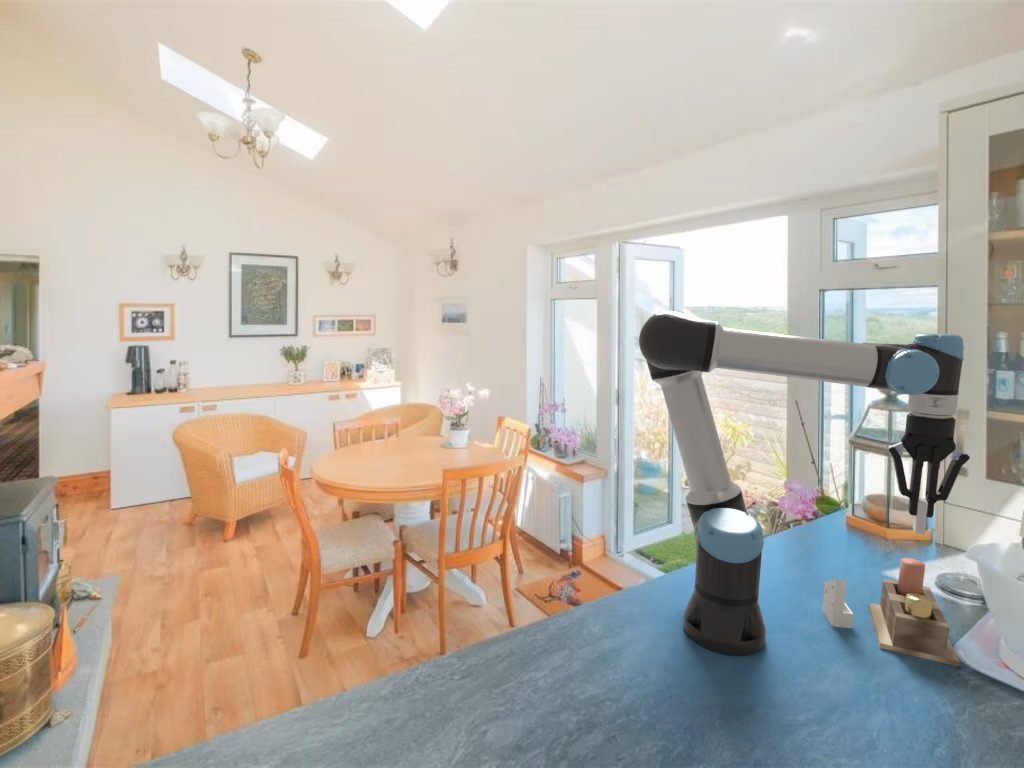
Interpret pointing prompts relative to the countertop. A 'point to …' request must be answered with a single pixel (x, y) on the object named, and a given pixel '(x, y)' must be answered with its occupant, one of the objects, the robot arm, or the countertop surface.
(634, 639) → the countertop surface
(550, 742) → the countertop surface
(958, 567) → the countertop surface
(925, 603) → the brass plug
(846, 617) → the white wedge bracket
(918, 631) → the socket block
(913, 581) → the red plug
